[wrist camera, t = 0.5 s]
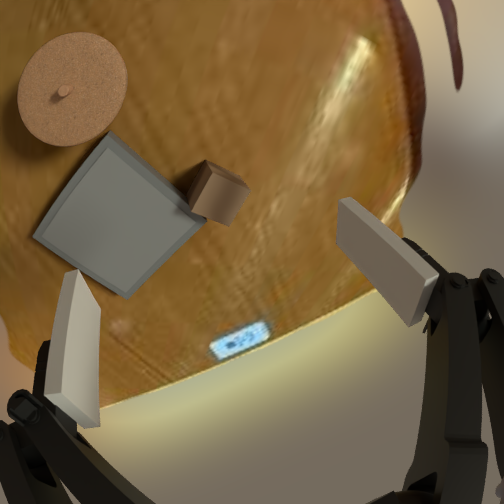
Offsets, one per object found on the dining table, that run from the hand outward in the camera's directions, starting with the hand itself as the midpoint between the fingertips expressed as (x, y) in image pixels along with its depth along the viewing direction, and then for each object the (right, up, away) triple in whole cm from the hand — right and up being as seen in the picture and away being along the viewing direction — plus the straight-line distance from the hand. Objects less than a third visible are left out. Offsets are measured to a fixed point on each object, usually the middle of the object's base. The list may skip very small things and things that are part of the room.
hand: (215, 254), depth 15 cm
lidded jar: (-16, +18, +12) cm, 27 cm away
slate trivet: (-15, +4, +22) cm, 27 cm away
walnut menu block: (-3, +8, +23) cm, 25 cm away
